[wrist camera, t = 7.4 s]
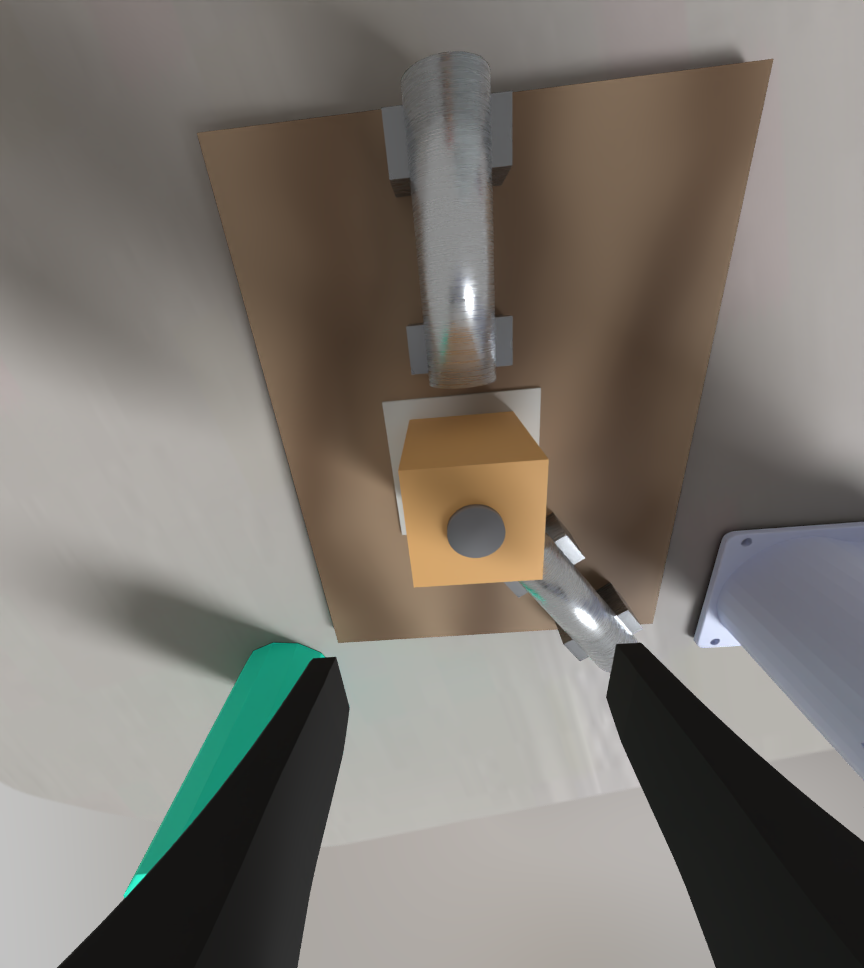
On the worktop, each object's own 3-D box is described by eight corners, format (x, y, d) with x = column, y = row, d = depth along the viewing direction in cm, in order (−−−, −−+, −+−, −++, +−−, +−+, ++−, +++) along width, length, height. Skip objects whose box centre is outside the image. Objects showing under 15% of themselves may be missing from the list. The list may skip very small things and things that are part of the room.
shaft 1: (387, 120, 12) (372, 62, 9) (500, 106, 12) (521, 41, 9) (415, 376, 15) (411, 392, 12) (503, 368, 15) (519, 382, 12)
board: (752, 73, 12) (777, 55, 11) (645, 612, 22) (653, 625, 21) (210, 142, 13) (193, 130, 12) (341, 632, 23) (337, 645, 22)
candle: (267, 710, 26) (147, 1000, 15) (228, 650, 23) (51, 946, 13) (350, 697, 25) (286, 991, 14) (318, 635, 23) (214, 933, 12)
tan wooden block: (512, 502, 18) (545, 585, 12) (419, 509, 18) (413, 593, 13) (513, 411, 16) (551, 463, 11) (409, 419, 16) (397, 474, 11)
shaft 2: (488, 546, 19) (497, 590, 16) (548, 506, 18) (570, 545, 15) (571, 635, 22) (592, 686, 19) (628, 604, 21) (660, 653, 18)
